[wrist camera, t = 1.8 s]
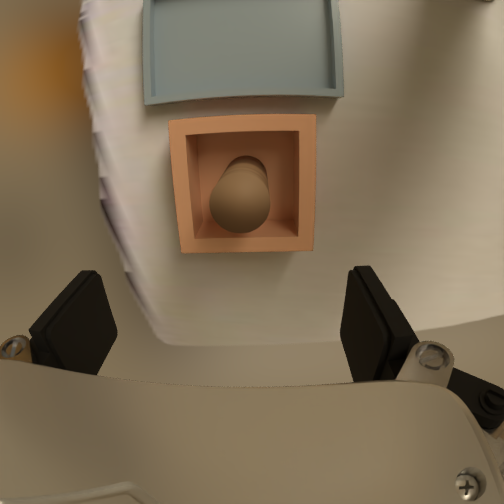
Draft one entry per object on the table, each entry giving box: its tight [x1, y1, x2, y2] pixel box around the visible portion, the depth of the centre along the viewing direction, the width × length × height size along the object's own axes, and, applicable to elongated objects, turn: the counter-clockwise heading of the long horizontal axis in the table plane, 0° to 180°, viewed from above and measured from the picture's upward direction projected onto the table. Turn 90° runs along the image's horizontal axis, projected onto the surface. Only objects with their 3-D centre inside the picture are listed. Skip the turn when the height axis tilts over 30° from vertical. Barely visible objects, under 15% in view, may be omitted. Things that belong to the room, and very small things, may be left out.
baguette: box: [209, 156, 270, 233], centre depth 27 cm, size 4×4×11 cm
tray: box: [143, 0, 344, 106], centre depth 25 cm, size 14×20×2 cm
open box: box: [168, 114, 316, 253], centre depth 30 cm, size 13×13×6 cm
